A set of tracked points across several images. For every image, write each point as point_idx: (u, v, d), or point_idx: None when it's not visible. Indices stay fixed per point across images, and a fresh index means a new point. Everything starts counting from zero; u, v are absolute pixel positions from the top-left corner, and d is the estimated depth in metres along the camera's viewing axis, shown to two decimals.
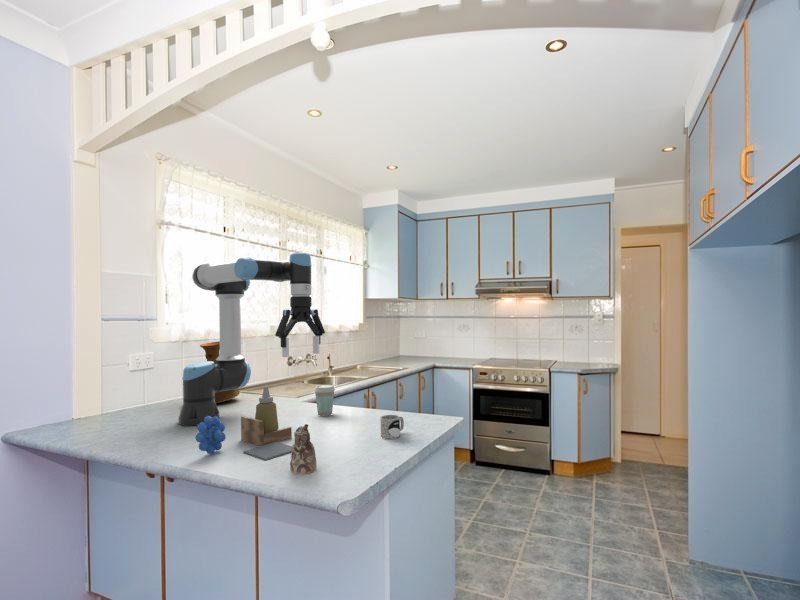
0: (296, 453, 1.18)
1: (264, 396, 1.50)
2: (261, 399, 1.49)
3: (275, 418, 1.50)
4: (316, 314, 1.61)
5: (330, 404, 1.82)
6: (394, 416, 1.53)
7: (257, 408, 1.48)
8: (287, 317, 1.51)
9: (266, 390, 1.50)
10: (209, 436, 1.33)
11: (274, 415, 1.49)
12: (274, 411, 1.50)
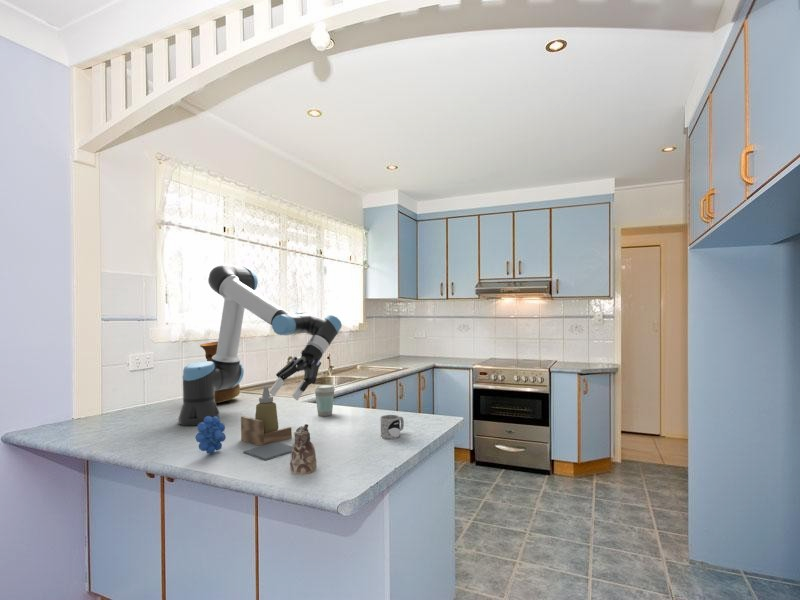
0: (296, 453, 1.18)
1: (264, 396, 1.50)
2: (261, 399, 1.49)
3: (275, 418, 1.50)
4: None
5: (330, 404, 1.82)
6: (394, 416, 1.53)
7: (257, 408, 1.48)
8: None
9: (266, 390, 1.50)
10: (209, 436, 1.33)
11: (274, 415, 1.49)
12: (274, 411, 1.50)
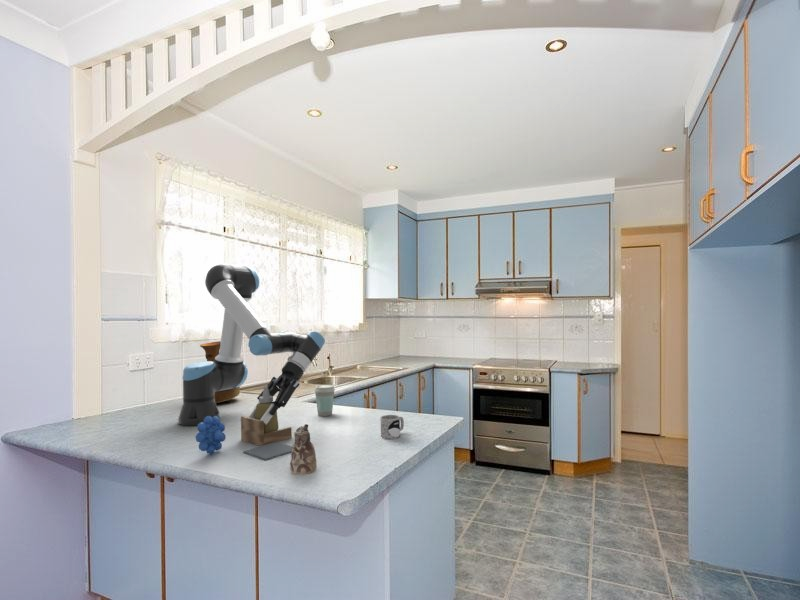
0: (296, 453, 1.18)
1: (264, 396, 1.50)
2: (261, 399, 1.49)
3: (275, 418, 1.50)
4: None
5: (330, 404, 1.82)
6: (394, 416, 1.53)
7: (257, 408, 1.48)
8: None
9: (266, 390, 1.50)
10: (209, 436, 1.33)
11: (274, 415, 1.49)
12: None
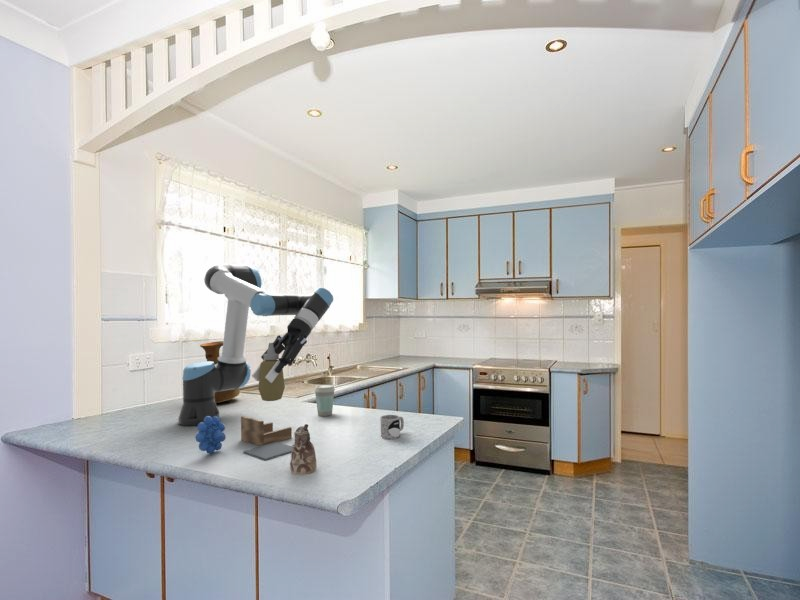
0: (296, 453, 1.18)
1: (269, 353, 1.37)
2: (266, 356, 1.36)
3: (281, 377, 1.37)
4: None
5: (330, 404, 1.82)
6: (394, 416, 1.53)
7: (261, 366, 1.36)
8: None
9: (271, 346, 1.38)
10: (209, 436, 1.33)
11: (280, 373, 1.37)
12: None
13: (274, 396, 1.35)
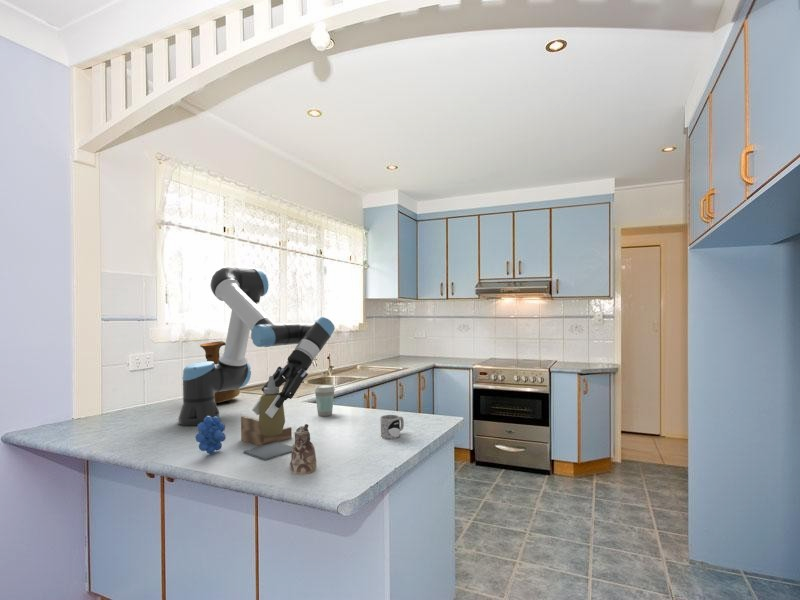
0: (296, 453, 1.18)
1: (269, 387, 1.36)
2: (266, 390, 1.35)
3: (281, 411, 1.36)
4: None
5: (330, 404, 1.82)
6: (394, 416, 1.53)
7: (262, 400, 1.35)
8: None
9: (271, 380, 1.36)
10: (209, 436, 1.33)
11: (280, 408, 1.36)
12: None
13: (274, 431, 1.34)
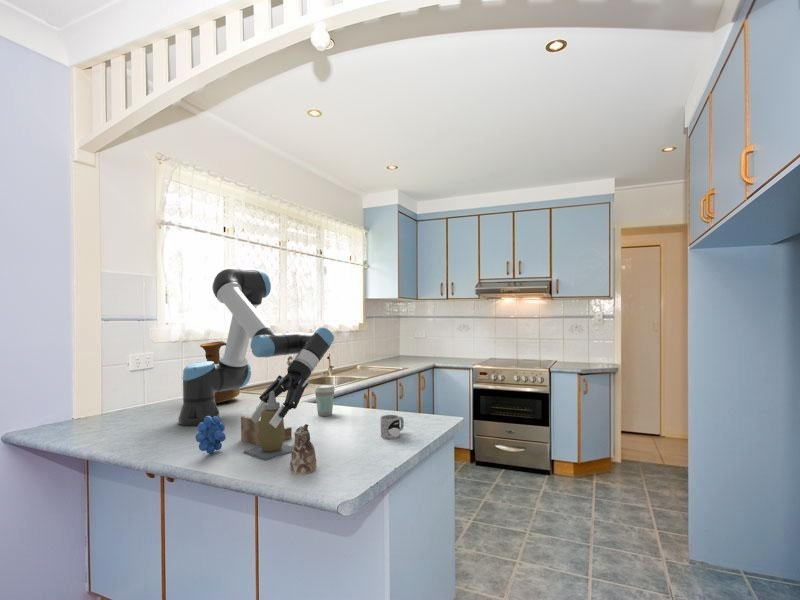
0: (296, 453, 1.18)
1: (270, 402, 1.36)
2: (267, 406, 1.35)
3: (282, 427, 1.36)
4: None
5: (330, 404, 1.82)
6: (394, 416, 1.53)
7: (262, 415, 1.35)
8: None
9: (272, 396, 1.37)
10: (209, 436, 1.33)
11: (280, 423, 1.36)
12: None
13: (274, 447, 1.34)
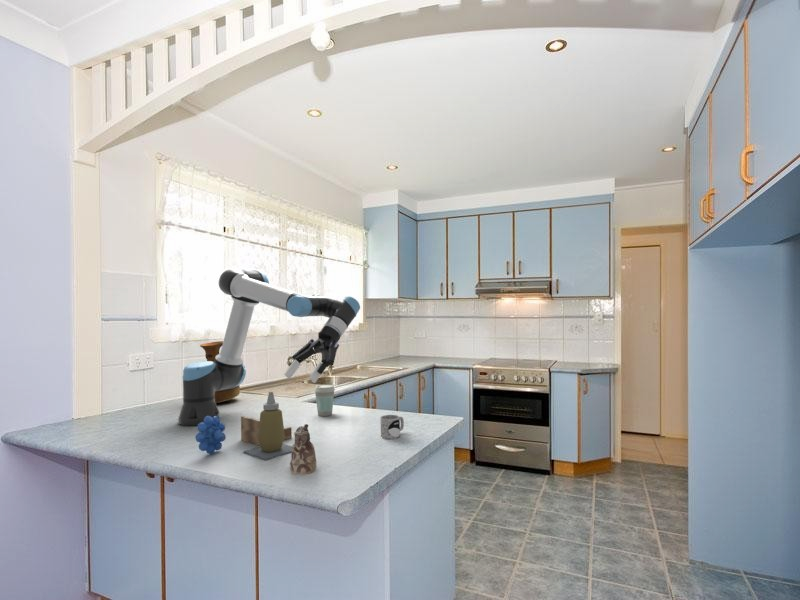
0: (296, 453, 1.18)
1: (269, 403, 1.36)
2: (266, 406, 1.35)
3: (281, 427, 1.36)
4: None
5: (330, 404, 1.82)
6: (394, 416, 1.53)
7: (261, 416, 1.35)
8: None
9: (271, 396, 1.37)
10: (209, 436, 1.33)
11: (280, 424, 1.36)
12: (280, 419, 1.36)
13: (274, 447, 1.34)
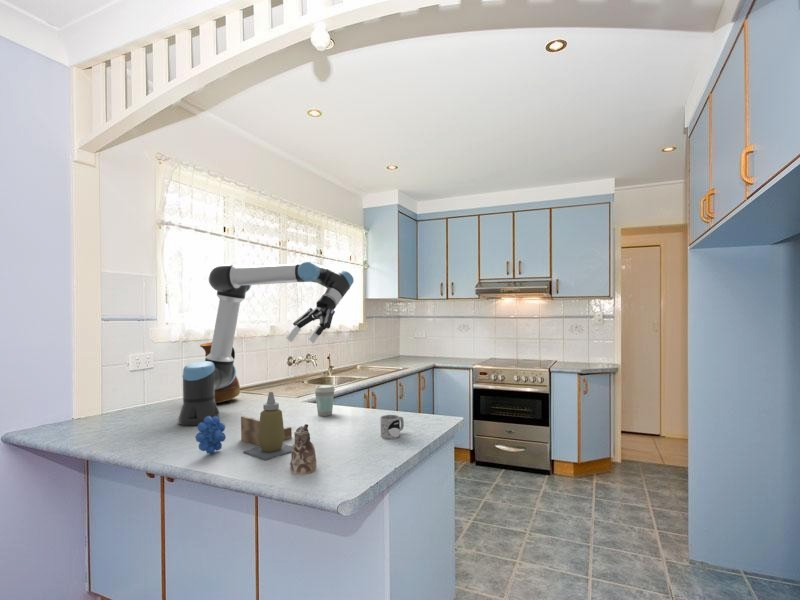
0: (296, 453, 1.18)
1: (269, 403, 1.36)
2: (266, 406, 1.35)
3: (281, 427, 1.36)
4: None
5: (330, 404, 1.82)
6: (394, 416, 1.53)
7: (261, 416, 1.35)
8: None
9: (271, 396, 1.37)
10: (209, 436, 1.33)
11: (280, 424, 1.36)
12: (280, 419, 1.36)
13: (274, 447, 1.34)
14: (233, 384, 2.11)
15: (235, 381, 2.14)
